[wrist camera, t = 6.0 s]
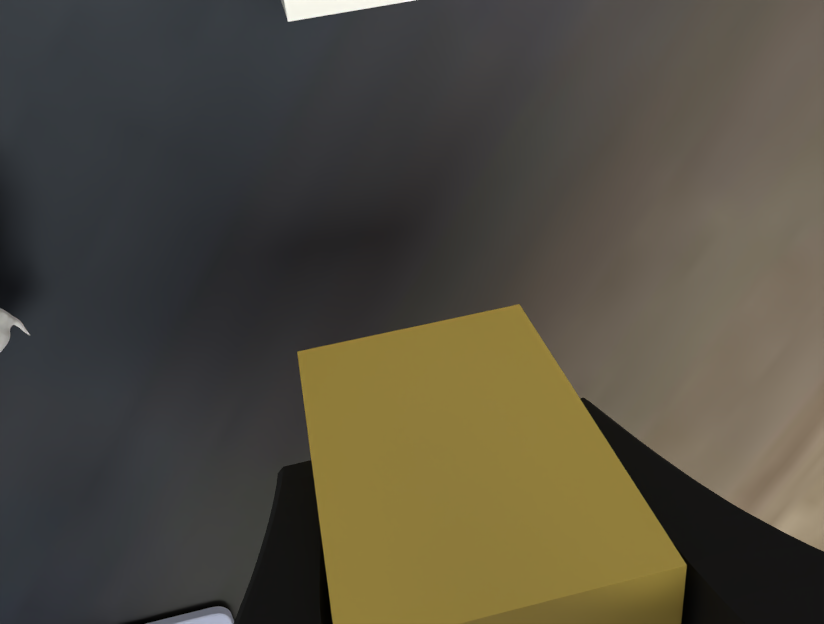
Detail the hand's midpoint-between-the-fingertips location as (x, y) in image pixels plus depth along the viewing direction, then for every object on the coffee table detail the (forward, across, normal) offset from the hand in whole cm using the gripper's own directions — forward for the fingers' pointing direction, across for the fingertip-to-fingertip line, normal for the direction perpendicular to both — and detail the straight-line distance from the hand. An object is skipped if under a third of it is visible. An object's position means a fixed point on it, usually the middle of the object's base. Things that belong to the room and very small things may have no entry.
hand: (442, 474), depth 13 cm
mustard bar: (+2, 0, 0) cm, 2 cm away
